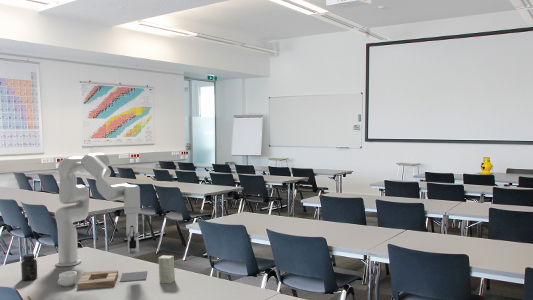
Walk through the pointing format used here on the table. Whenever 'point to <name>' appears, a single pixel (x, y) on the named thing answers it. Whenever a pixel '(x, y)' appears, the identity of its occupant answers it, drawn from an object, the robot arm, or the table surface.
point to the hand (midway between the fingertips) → (133, 246)
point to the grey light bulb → (136, 250)
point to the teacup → (67, 278)
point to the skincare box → (166, 269)
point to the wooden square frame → (97, 279)
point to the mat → (133, 276)
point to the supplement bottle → (29, 267)
